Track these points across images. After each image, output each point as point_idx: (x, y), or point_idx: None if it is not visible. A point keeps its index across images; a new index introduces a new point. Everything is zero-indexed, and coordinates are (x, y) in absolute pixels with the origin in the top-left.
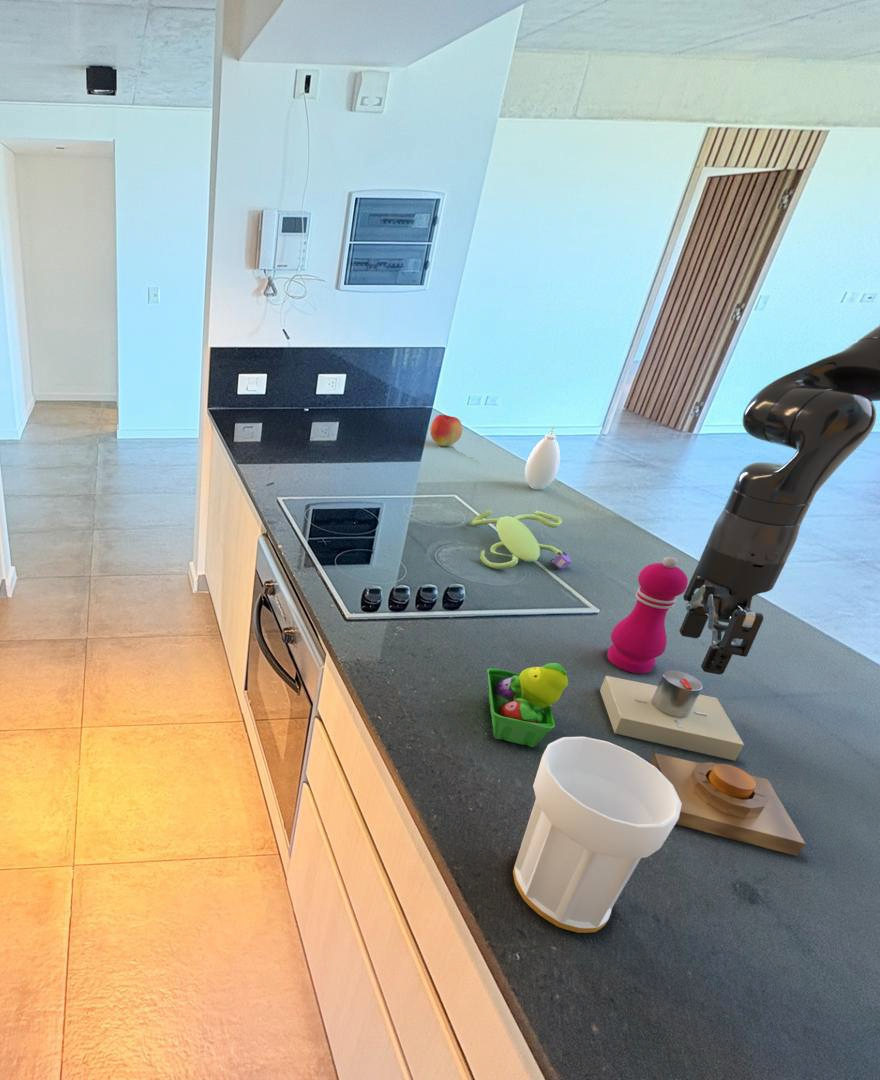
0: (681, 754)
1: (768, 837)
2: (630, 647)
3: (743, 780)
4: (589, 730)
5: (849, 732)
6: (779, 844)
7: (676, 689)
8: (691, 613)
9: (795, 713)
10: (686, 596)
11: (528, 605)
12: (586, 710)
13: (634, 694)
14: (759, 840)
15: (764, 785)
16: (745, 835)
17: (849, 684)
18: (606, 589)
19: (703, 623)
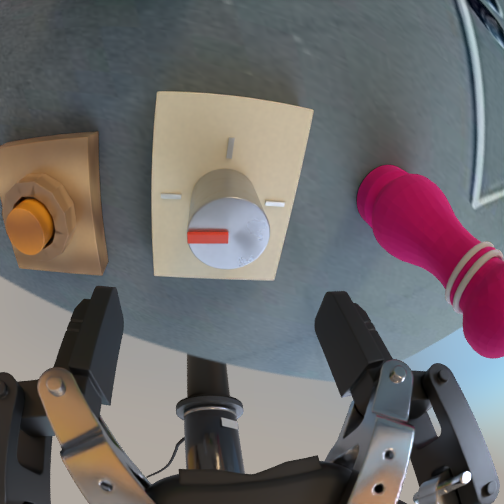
0: (143, 187)
1: None
2: (392, 192)
3: (22, 241)
4: (162, 51)
5: (262, 363)
6: None
7: (193, 210)
8: (369, 367)
9: (286, 339)
10: (439, 381)
11: (489, 115)
12: (226, 59)
13: (253, 144)
14: None
15: (87, 267)
16: None
17: None
18: (492, 234)
19: (334, 368)
